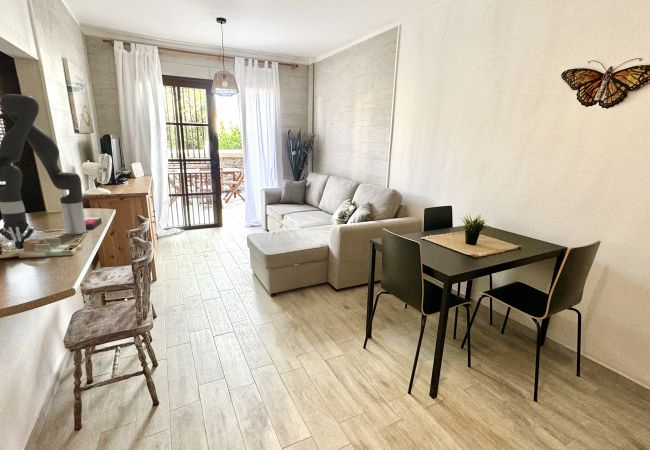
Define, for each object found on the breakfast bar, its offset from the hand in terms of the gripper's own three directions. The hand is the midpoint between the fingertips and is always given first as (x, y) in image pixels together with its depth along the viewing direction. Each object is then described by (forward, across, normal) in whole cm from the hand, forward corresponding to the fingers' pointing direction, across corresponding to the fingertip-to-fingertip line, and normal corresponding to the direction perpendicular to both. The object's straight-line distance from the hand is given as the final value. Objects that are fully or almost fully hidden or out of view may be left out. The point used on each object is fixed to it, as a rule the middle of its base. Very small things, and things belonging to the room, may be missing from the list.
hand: (20, 248), depth 144 cm
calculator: (+3, -8, -48) cm, 48 cm away
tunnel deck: (+2, -12, 0) cm, 12 cm away
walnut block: (+1, -5, 0) cm, 5 cm away
